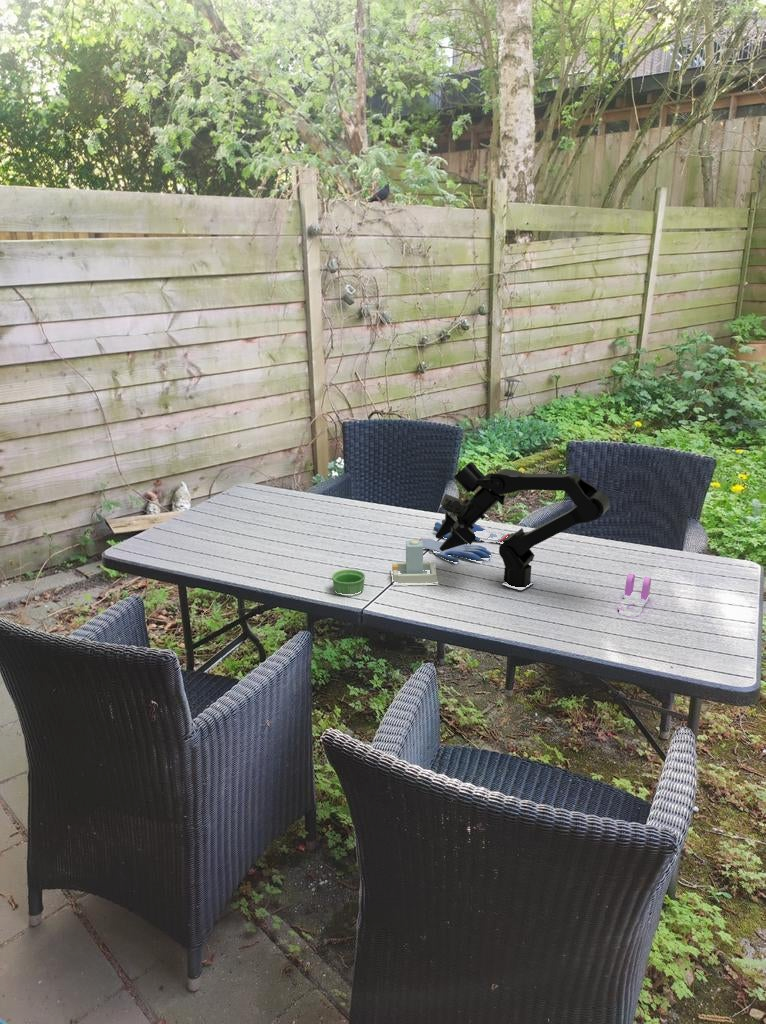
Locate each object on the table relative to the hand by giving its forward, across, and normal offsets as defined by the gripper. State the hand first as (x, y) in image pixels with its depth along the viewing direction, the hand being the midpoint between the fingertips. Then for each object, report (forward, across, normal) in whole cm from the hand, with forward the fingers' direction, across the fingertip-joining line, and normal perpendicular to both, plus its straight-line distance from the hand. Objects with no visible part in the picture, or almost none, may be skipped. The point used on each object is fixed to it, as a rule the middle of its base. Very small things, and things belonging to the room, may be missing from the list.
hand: (438, 543), depth 197 cm
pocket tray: (+12, 0, +3) cm, 12 cm away
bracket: (-26, +21, +42) cm, 54 cm away
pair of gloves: (+1, -25, +16) cm, 30 cm away
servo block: (+12, 0, +2) cm, 12 cm away
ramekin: (+25, +7, -10) cm, 28 cm away
